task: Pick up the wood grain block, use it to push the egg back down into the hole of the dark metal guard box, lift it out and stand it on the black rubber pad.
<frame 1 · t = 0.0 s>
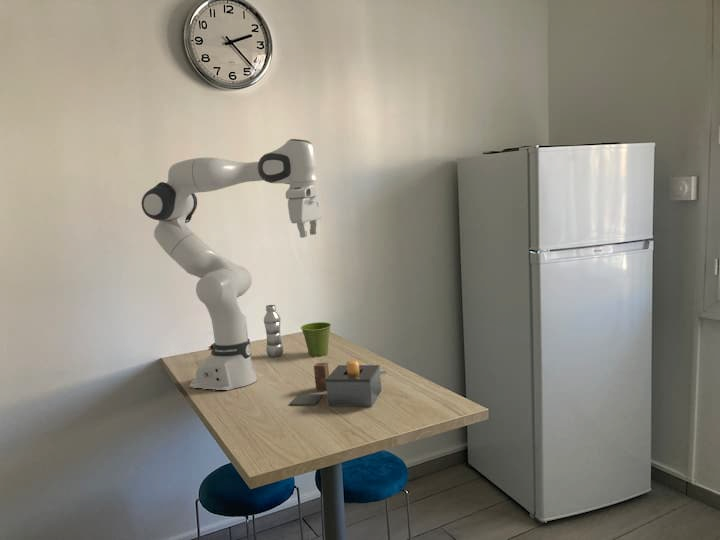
hand: (308, 235, 179), 48 cm above the table, tool pointing down, fingers open, 8 cm apart
pliers: (363, 377, 189), on the table
plant pot: (318, 354, 219), on the table
guard box: (355, 398, 168), on the table
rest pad: (306, 400, 170), on the table
silver metal bottle: (275, 356, 221), on the table
egg: (353, 372, 167), point 8 cm above the table, slide at 0.0 cm
wood grain block: (323, 388, 179), on the table
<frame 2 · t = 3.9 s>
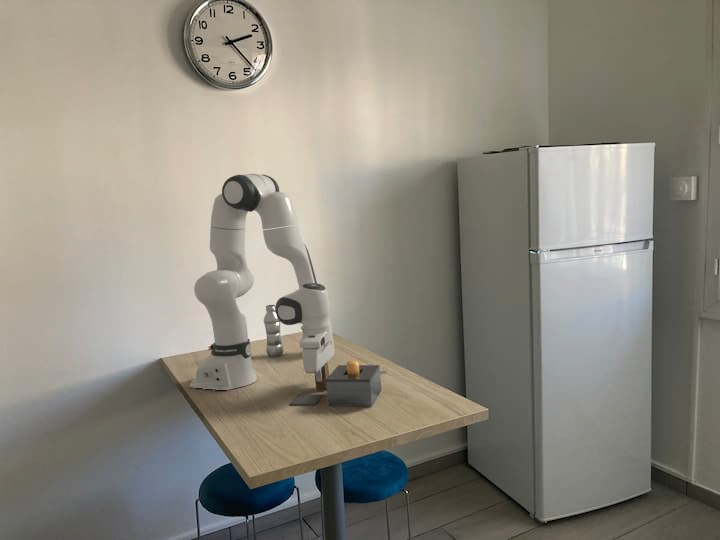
hand: (322, 378, 178), 4 cm above the table, tool pointing down, fingers closed on wood grain block, 3 cm apart
wood grain block: (323, 388, 179), on the table, touching gripper
everything else where it was.
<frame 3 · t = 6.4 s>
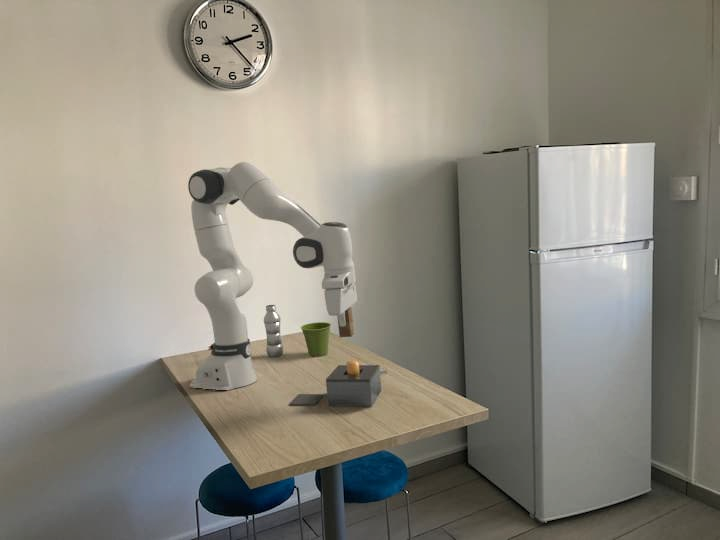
hand: (345, 323, 167), 22 cm above the table, tool pointing down, fingers closed on wood grain block, 3 cm apart
wood grain block: (346, 335, 167), point 19 cm above the table, touching gripper
everything else where it was.
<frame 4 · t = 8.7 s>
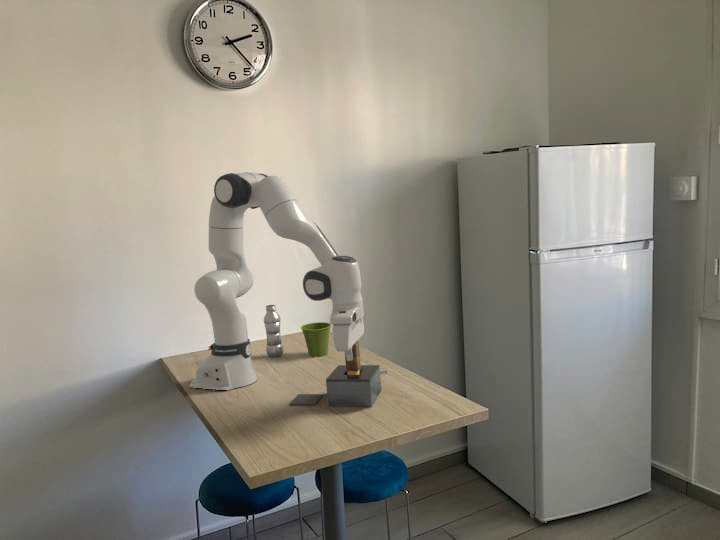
hand: (352, 357, 167), 12 cm above the table, tool pointing down, fingers closed on wood grain block, 3 cm apart
egg: (353, 378, 168), point 6 cm above the table, slide at 2.1 cm, touching wood grain block
wood grain block: (353, 369, 167), point 9 cm above the table, touching gripper, egg
everything else where it was.
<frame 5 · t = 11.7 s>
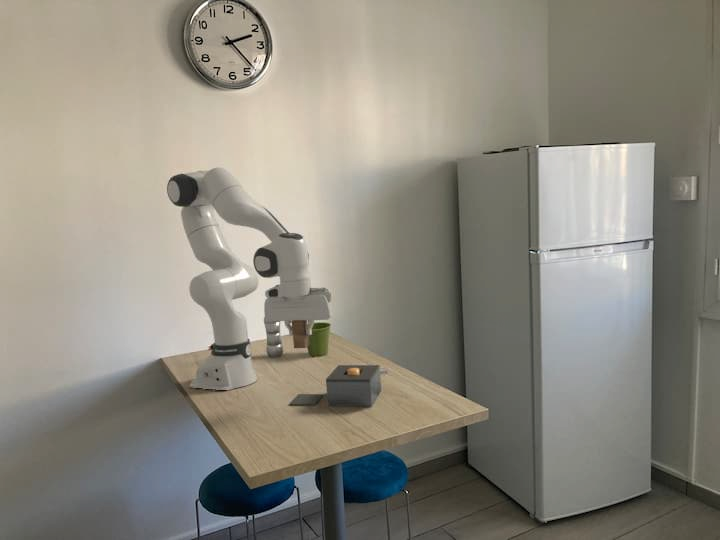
hand: (300, 334, 167), 20 cm above the table, tool pointing down, fingers closed on wood grain block, 3 cm apart
egg: (354, 379, 168), point 6 cm above the table, slide at 2.3 cm
wood grain block: (301, 346, 167), point 17 cm above the table, touching gripper
everything else where it was.
when the fingers open (5 cm above the table, at t = 14.1 s): wood grain block drops 2 cm, resting on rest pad.
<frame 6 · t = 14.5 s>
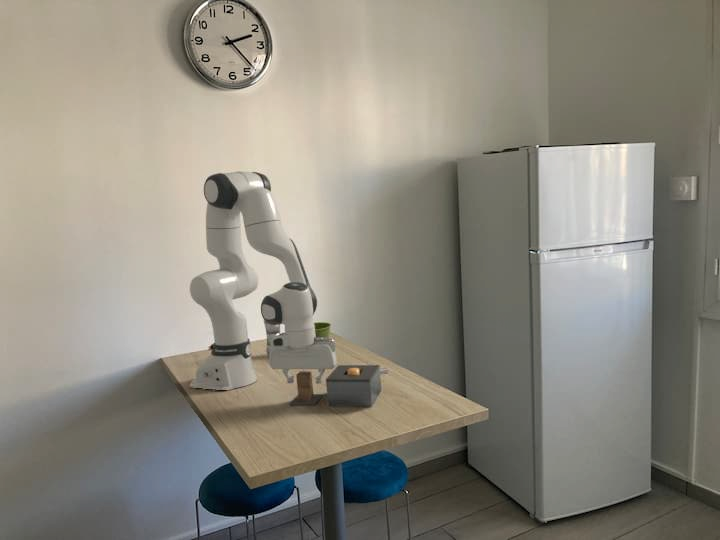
hand: (304, 382, 169), 5 cm above the table, tool pointing down, fingers open, 8 cm apart
wood grain block: (306, 398, 169), resting on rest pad
everything else where it was.
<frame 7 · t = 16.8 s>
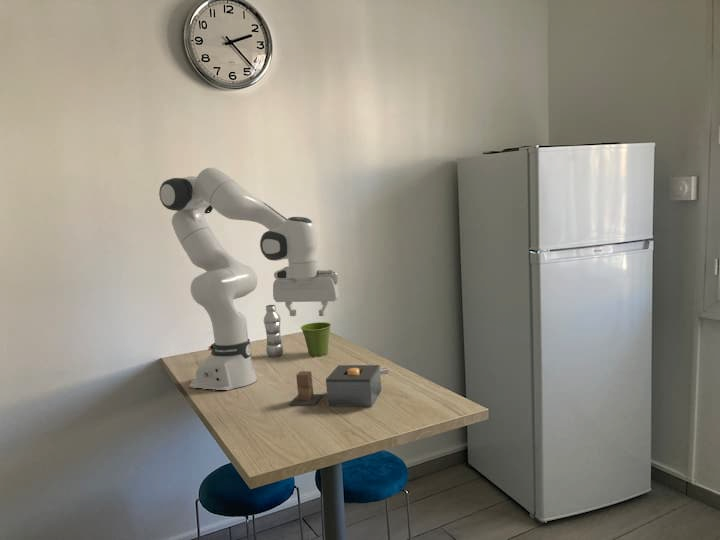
hand: (307, 315, 173), 24 cm above the table, tool pointing down, fingers open, 8 cm apart
nothing on the table moved.
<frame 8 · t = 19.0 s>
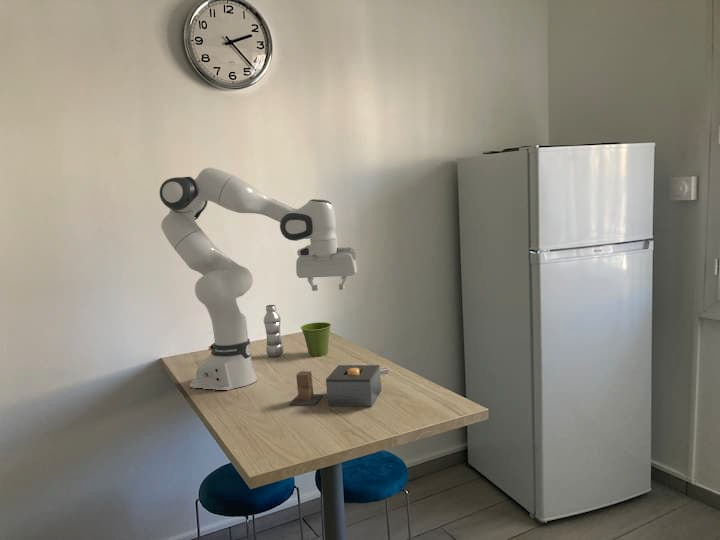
hand: (328, 289, 188), 29 cm above the table, tool pointing down, fingers open, 8 cm apart
nothing on the table moved.
at the end: egg slide at 2.3 cm; wood grain block inside the target area (0.1 cm from its centre), point 0.5 cm above the table; wood grain block tilted 0° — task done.
